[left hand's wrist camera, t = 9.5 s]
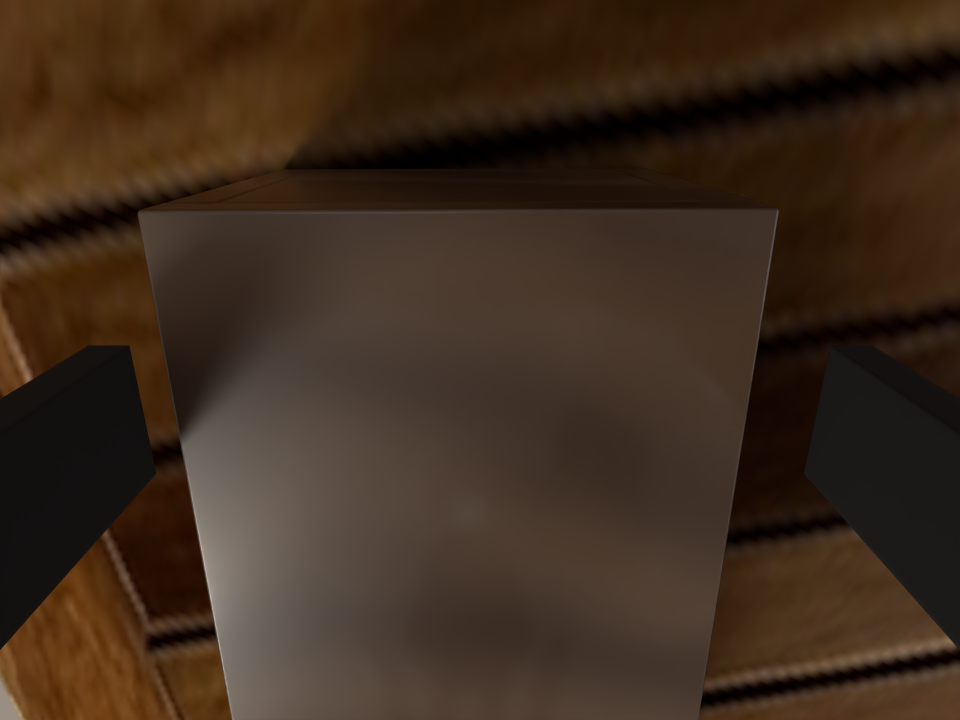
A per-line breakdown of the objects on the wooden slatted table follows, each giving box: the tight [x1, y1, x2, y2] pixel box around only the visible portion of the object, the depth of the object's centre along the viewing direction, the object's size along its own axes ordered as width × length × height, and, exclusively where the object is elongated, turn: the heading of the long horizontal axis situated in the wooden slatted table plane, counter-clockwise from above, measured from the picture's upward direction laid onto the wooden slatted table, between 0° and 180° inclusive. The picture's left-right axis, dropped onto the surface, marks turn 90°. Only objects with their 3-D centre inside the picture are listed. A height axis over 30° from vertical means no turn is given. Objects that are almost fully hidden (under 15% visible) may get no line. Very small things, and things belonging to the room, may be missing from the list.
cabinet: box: [138, 168, 779, 720], centre depth 20 cm, size 20×12×10 cm, turn 0°
